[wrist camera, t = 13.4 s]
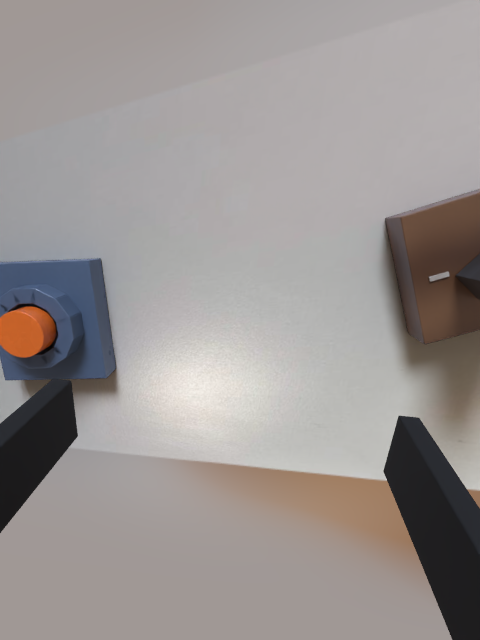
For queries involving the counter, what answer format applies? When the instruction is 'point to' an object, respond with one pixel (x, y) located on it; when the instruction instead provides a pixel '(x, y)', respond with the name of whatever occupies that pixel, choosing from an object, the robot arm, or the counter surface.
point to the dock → (437, 266)
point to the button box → (60, 318)
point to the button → (26, 331)
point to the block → (471, 276)
